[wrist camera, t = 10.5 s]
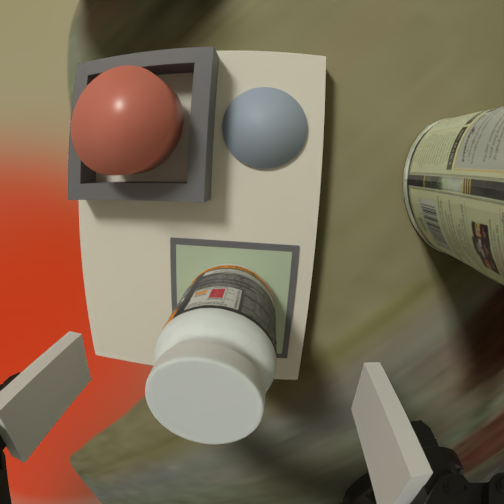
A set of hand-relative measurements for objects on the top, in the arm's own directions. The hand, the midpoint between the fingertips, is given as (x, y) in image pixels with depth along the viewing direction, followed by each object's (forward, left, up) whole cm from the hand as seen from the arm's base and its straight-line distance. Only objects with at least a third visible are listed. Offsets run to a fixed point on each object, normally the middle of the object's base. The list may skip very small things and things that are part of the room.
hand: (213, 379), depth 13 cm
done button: (+11, +6, -6) cm, 14 cm away
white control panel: (+5, +3, -9) cm, 11 cm away
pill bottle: (0, 0, -8) cm, 8 cm away
